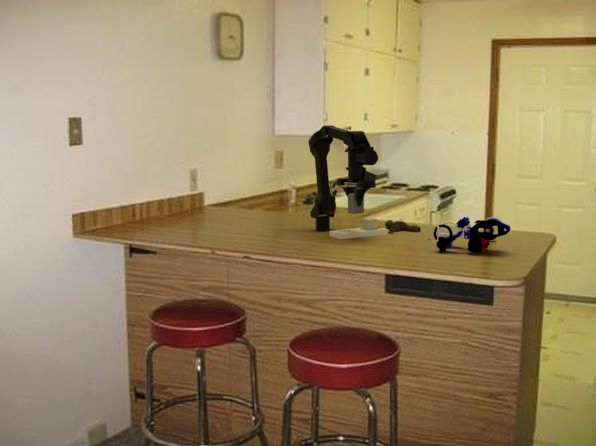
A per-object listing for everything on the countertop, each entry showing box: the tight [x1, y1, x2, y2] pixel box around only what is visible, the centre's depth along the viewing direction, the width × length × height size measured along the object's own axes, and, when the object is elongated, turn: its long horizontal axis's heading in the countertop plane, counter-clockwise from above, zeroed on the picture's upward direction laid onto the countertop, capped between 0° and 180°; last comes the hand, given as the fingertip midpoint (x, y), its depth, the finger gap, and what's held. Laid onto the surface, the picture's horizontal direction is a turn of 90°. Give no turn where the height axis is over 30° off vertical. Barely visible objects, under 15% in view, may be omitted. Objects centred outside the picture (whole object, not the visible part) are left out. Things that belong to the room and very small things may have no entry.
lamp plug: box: [361, 217, 378, 231], centre depth 272 cm, size 4×4×6 cm
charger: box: [347, 193, 365, 215], centre depth 261 cm, size 4×4×7 cm
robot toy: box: [433, 216, 511, 253], centre depth 241 cm, size 16×12×25 cm
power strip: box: [329, 225, 389, 240], centre depth 270 cm, size 22×8×4 cm, turn 118°
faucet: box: [384, 219, 422, 235], centre depth 279 cm, size 5×17×15 cm
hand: (355, 205), depth 261 cm, fingers closed on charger, 4 cm apart
